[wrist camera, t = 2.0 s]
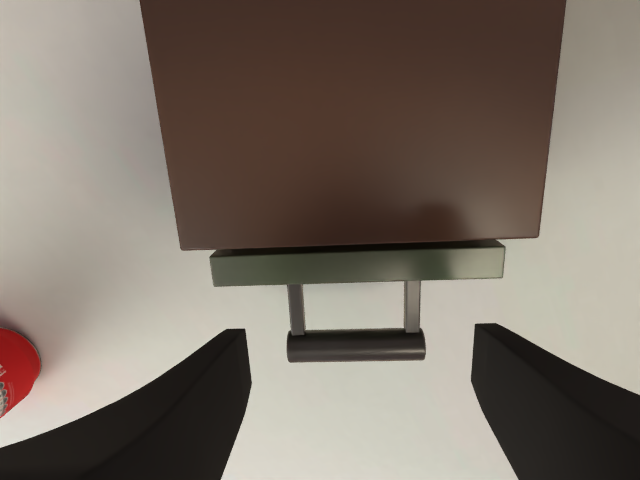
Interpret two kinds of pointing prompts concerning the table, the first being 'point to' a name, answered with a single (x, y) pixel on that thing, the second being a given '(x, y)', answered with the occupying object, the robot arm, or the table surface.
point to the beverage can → (16, 368)
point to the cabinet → (354, 118)
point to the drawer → (352, 267)
